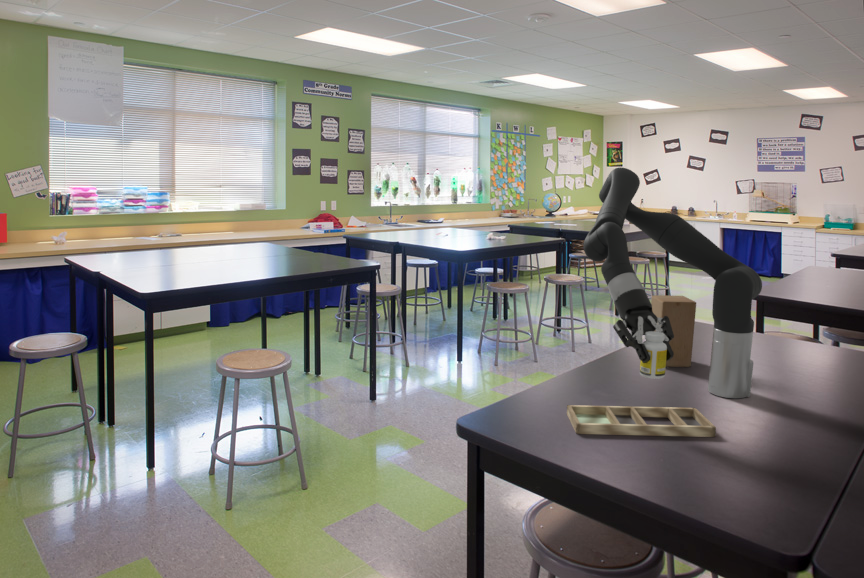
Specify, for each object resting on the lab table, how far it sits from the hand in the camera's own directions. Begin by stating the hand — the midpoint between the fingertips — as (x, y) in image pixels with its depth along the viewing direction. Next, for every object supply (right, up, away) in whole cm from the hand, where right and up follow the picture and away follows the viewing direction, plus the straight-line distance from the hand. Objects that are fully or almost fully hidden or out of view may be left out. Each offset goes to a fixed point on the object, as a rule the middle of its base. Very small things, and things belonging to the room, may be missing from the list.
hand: (658, 359), depth 136 cm
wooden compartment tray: (-3, -15, +4) cm, 16 cm away
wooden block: (+23, -7, +53) cm, 58 cm away
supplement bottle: (-1, -4, +3) cm, 5 cm away
